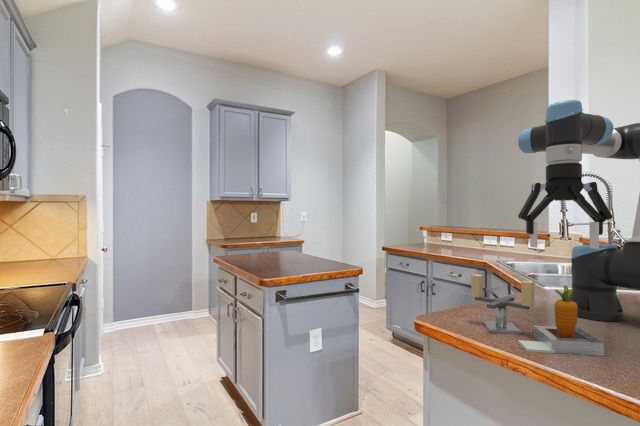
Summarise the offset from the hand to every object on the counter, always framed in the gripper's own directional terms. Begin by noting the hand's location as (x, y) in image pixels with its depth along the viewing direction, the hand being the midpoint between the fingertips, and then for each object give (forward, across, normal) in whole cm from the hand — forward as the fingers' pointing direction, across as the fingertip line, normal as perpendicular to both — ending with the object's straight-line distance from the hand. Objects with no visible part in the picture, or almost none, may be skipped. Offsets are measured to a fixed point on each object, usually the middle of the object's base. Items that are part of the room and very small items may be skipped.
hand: (563, 247), depth 89 cm
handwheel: (+18, -12, +11) cm, 24 cm away
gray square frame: (+25, 0, 0) cm, 25 cm away
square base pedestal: (+25, -12, +11) cm, 29 cm away
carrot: (+25, 0, 0) cm, 25 cm away
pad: (+25, -8, -3) cm, 26 cm away
